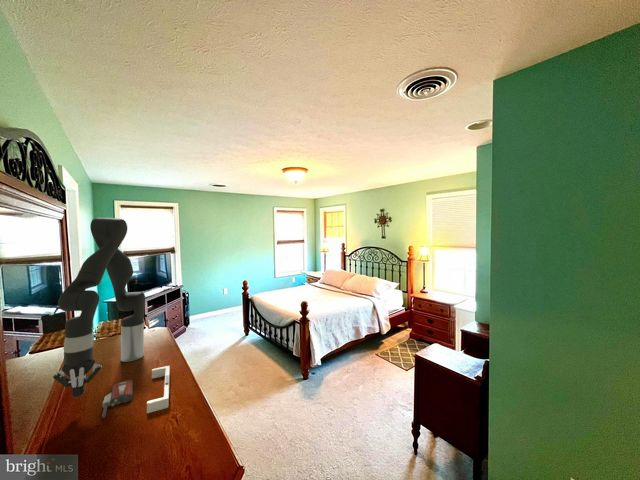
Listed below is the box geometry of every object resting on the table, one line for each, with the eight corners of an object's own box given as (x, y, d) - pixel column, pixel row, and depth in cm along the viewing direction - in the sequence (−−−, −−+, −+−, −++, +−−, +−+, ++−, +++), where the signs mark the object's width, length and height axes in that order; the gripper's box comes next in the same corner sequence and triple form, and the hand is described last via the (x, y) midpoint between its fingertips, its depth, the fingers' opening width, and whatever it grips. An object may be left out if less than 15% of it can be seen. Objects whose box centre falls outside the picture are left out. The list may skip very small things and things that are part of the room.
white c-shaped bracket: (152, 376, 111) (152, 367, 111) (169, 373, 115) (169, 364, 115) (146, 413, 89) (146, 402, 89) (168, 407, 92) (168, 396, 92)
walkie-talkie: (106, 391, 101) (99, 422, 85) (106, 380, 101) (99, 410, 85) (133, 384, 106) (131, 412, 90) (133, 374, 106) (131, 400, 90)
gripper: (105, 339, 96) (105, 385, 96) (57, 346, 89) (56, 395, 89) (100, 347, 89) (100, 396, 89) (48, 355, 82) (47, 408, 83)
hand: (78, 395), depth 89 cm, fingers closed
